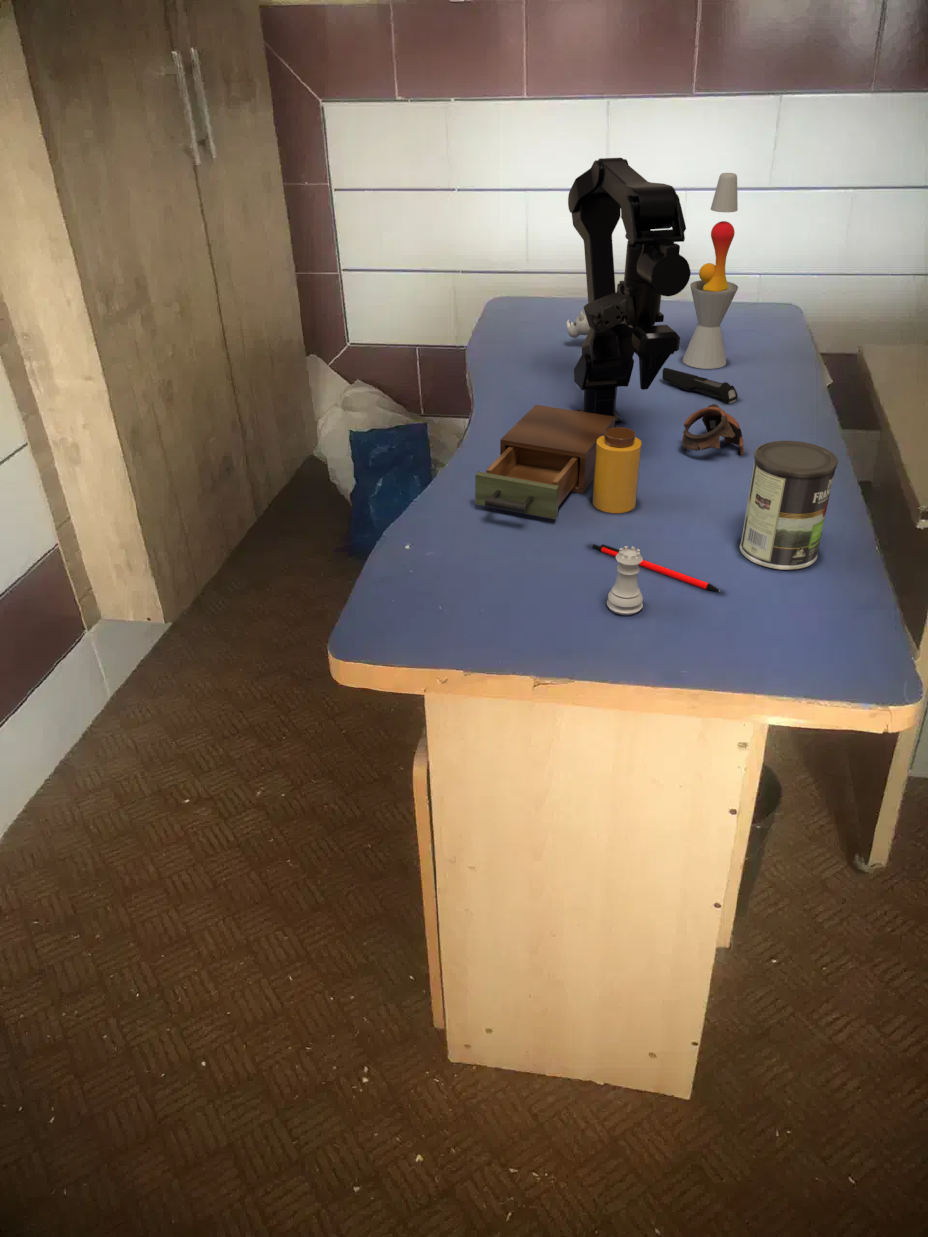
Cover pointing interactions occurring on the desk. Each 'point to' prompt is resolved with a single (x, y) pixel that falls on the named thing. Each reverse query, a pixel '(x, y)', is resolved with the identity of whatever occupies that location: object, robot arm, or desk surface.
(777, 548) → the coffee can
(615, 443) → the bottle
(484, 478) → the drawer
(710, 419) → the pottery mug
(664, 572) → the pen
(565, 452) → the cabinet
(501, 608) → the desk surface
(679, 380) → the black flashlight
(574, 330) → the round bodied animal figurine
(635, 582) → the rook chess piece
